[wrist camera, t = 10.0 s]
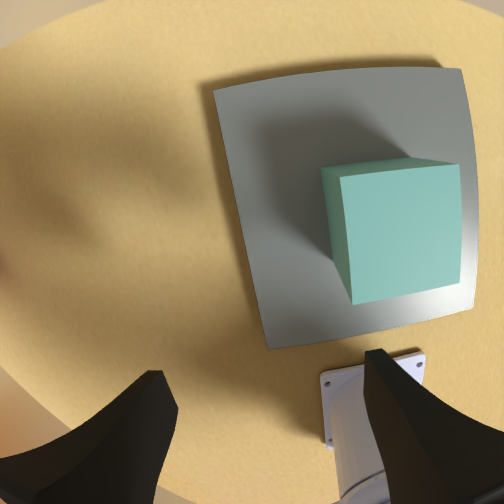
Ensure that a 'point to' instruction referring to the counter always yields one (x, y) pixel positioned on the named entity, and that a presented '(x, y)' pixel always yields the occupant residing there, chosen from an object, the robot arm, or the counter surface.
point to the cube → (394, 226)
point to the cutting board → (312, 193)
